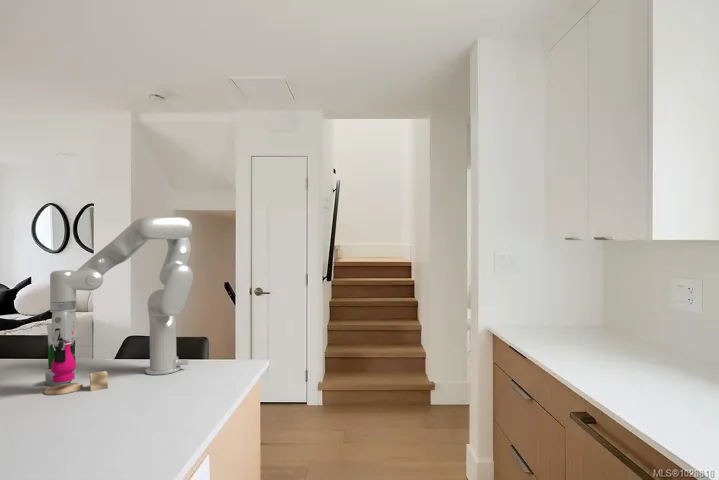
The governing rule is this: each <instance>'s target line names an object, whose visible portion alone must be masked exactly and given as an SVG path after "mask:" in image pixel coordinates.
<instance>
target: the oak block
mask: <svg viewBox="0 0 719 480" xmlns="http://www.w3.org/2000/svg"><path fill="white" fill-rule="evenodd" d="M108 377H109V375H108V372H107V370H104V371H95V372H90V373H89V388H90V389H89V390H90V392H95V391H100V390H107V389H108V388H109V386H108V385H109V381H108V380H109V379H108Z"/></svg>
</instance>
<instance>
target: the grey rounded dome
mask: <svg viewBox="0 0 719 480" xmlns="http://www.w3.org/2000/svg"><path fill="white" fill-rule="evenodd" d="M54 375H55V374H54V373H53V372H52V371H51V370H50V371H47V372H45V373H44V381H45V382H44V383H45V386H47V387H48V386H49V387H52V386H55V385H60V384H66V383H72V381H73V380H70V381H66V382H53V376H54Z"/></svg>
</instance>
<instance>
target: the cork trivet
mask: <svg viewBox="0 0 719 480" xmlns="http://www.w3.org/2000/svg"><path fill="white" fill-rule="evenodd" d="M83 388H84V385H83V383H81V382H69V383H65V384H60V385H54V386H49V387H47V388H46V389H44V393H43V394H44V395H46V396H60V395H67V394H72V393H75V392H78V391H80V390H82V389H83Z"/></svg>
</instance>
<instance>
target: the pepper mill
mask: <svg viewBox="0 0 719 480" xmlns="http://www.w3.org/2000/svg"><path fill="white" fill-rule="evenodd" d="M73 334H74V331H73V330H72V335H73ZM60 340H63V339H59V341H60ZM71 343H72V339H71V340H69V341H66V340H65V348H64V350H66V361H65V362H54V360H53V362H52V365H51V369H50V371H52V372H53V373H54V374H55V375H54V376H53V382H66V381H70V380H72V381H73V380H74V379H75V373H74V370H75V369H76V367H77V363H76V359H75V360H74V358H73V356H72V353H71V348H70V346H71ZM61 345H62V343H61Z"/></svg>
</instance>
